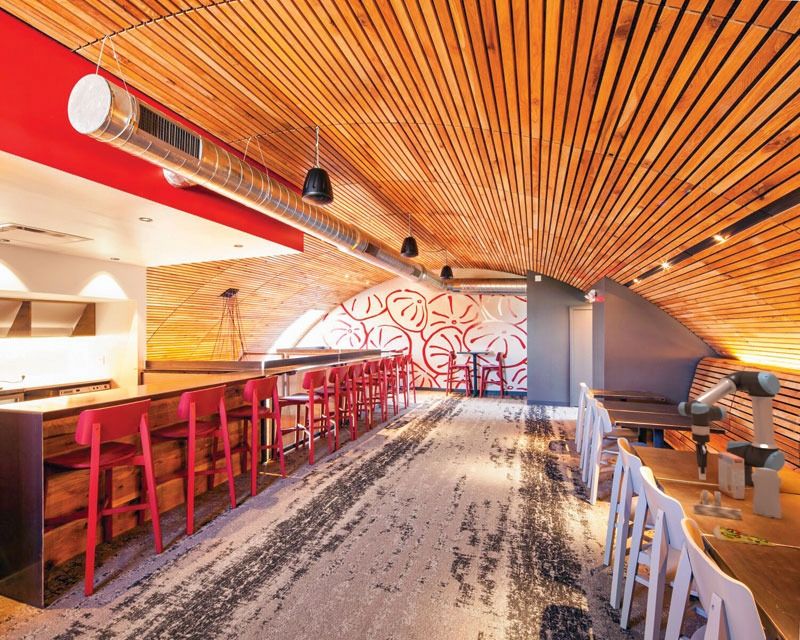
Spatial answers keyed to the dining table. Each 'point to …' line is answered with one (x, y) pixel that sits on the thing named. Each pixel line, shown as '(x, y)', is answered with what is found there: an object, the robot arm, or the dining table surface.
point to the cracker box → (731, 475)
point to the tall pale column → (766, 492)
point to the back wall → (717, 511)
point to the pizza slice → (738, 536)
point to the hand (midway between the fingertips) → (702, 479)
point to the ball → (710, 497)
